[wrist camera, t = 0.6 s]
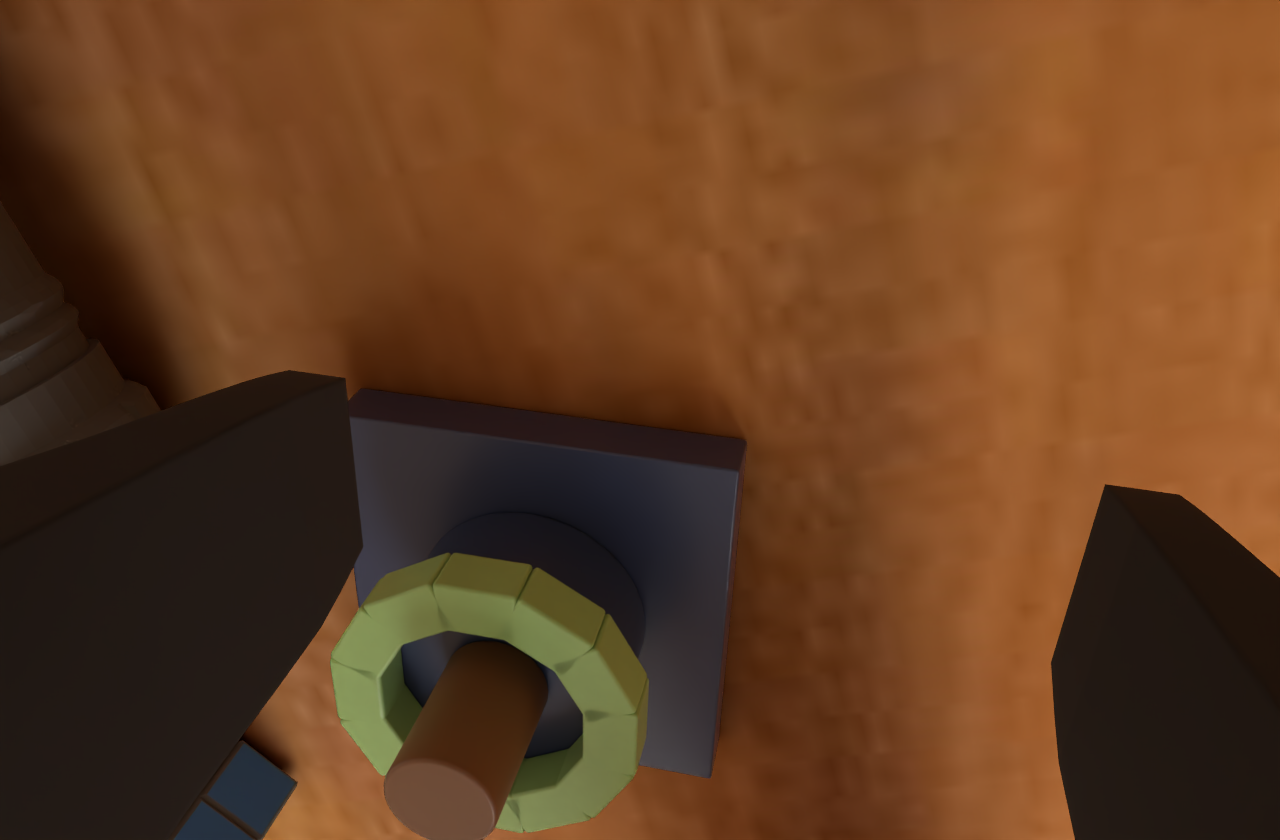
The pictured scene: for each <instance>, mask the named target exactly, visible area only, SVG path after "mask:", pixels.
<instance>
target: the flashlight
mask: <svg viewBox="0 0 1280 840" xmlns="http://www.w3.org/2000/svg"><path fill="white" fill-rule="evenodd" d="M78 317H79V311H78V310H77V309H76V308H75V307H74V306H73V305H71V304H68V303H66V302H63V285H62V284H61V283H60V282H59V281H58V280H57V279H56V278H55V277H53V276H51V275H49V274H48V273H46V272H44V270H43V269H42V267H41V266H40V264H39V262H38V261H37V259H36V258H35V256H34V255H33V253H32V251H31V250H30V248H29V247H28V245H27V243H26V242H25V240H24V239H23V237H22V235H21V234H20V232H19V231H18V229H17V227H16V226H15V224H14V223H13V221H12V219H11V218H10V216H9V215H8V213H7V211H6V210H5V208H4V207H3V205H2V203H1V202H0V466H3V465H6V464H9V463H12V462H15V461H18V460H21V459H24V458H27V457H30V456H33V455H36V454H39V453H42V452H45V451H48V450H51V449H54V448H57V447H60V446H63V445H66V444H69V443H72V442H75V441H78V440H81V439H84V438H87V437H90V436H93V435H96V434H98V433H101V432H104V431H107V430H109V429H112V428H115V427H118V426H120V425H123V424H126V423H129V422H131V421H134V420H137V419H140V418H143V417H145V416H148V415H151V414H154V413H156V412H159V411H161V410H160V408H159V406H158V405H157V403H156V401H155V400H154V398H153V396H152V395H151V393H150V391H149V390H148V388H147V387H146V386H143V385H141V384H140V383H137V382H134V381H130V380H124V379H123V378H122V377H121V375H120V373H119V372H118V370H117V369H116V367H115V365H114V364H113V362H112V361H111V359H110V357H109V356H108V354H107V352H106V351H105V349H104V348H103V346H102V344H101V343H100V341H99V340H98V339H95V338H89V339H86V338H85V336H84V335H83V333H82V332H81V330H80V328H79V327H78Z"/></svg>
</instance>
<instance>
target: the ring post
mask: <svg viewBox="0 0 1280 840" xmlns="http://www.w3.org/2000/svg"><path fill="white" fill-rule="evenodd" d="M348 408H349V417H350V427H351V436H352V445H353V455H354V464H355V473H356V482H357V492H358V501H359V510H360V519H361V529H362V538H363V549H362V551H361V553H360V555H359V556H358V558H357V560H356V562H355V564H354V573H355V581H356V589H357V597H358V605H359V608H360V607H361V605H362V604H363V602H364V601H365V600H366V598H367V597H368V595H369V594H370V593H371V591H372V590H373V588H374V587H375V585H376V584H377V583H378V581H379V580H380V579H381V578H383V577H384V576H385V575H386V574H388V573H390V572H393V571H396V570H399V569H402V568H405V567H408V566H411V565H413V564H416V563H419V562H422V561H425V560H428V559H431V558H434V557H437V556H439V555H442V554H445V553H450V554H451V555H452V554H453V553H462V554H469V555H475V556H481V557H487V558H494V559H500V560H506V561H512V562H519V563H525V564H530V565H532V569H535V568H540V569H542V570H543V571H545V572H546V573H548V574H550V575H551V576H553V577H554V578H556V579H557V580H559V581H560V582H562V583H564V584H565V585H567V586H568V587H570V588H571V589H573V590H575V591H576V592H578V593H579V594H581V595H582V596H584V597H586V598H587V599H589V600H590V601H592V602H593V603H595V604H597V605H598V606H600V607H601V608H603V609H604V610H605V615H606V614H609V615H611V617H612V618H613V620H614V622H615V623H616V625H617V627H618V628H619V630H620V631H621V633H622V635H623V636H624V638H625V639H626V641H627V643H628V644H629V646H630V647H631V649H632V651H633V652H634V654H635V656H636V657H637V659H638V660H639V662H640V664H641V665H642V667H643V668H644V670H645V672H646V674H647V678H648V679H649V692H648V712H647V733H646V740H645V743H644V747H643V750H642V754H641V758H640V761H639V765H641V766H646V767H651V768H657V769H662V770H667V771H672V772H678V773H683V774H688V775H693V776H699V777H704V778H711V776H712V771H713V766H714V761H715V756H716V751H717V746H718V741H719V732H720V721H721V711H722V700H723V690H724V679H725V669H726V659H727V648H728V638H729V627H730V617H731V606H732V596H733V585H734V575H735V564H736V554H737V544H738V533H739V523H740V512H741V502H742V491H743V481H744V470H745V460H746V450H747V441H746V440H742V439H735V438H728V437H720V436H713V435H705V434H698V433H690V432H683V431H675V430H668V429H660V428H653V427H645V426H638V425H631V424H623V423H616V422H608V421H601V420H593V419H586V418H578V417H571V416H563V415H556V414H549V413H541V412H534V411H526V410H519V409H511V408H504V407H496V406H489V405H481V404H474V403H466V402H459V401H452V400H444V399H437V398H429V397H422V396H414V395H407V394H399V393H392V392H384V391H377V390H370V389H360V390H359V391H358V392H357V393H356V394H355V395H354V396H353V397H352V398H351V399H350V400H349V401H348ZM401 654H402V664H403V673H404V683H405V685H406V686H407V687H408V689H409V690H410V692H411V693H412V694H413V696H414V697H415V698H416V700H417V701H418V703H419V704H420V705H421V707H422V708H423V709H422V711H421V713H420V714H419V716H418V718H417V720H416V722H415V723H414V725H413V727H412V729H411V731H410V732H409V734H408V736H407V738H406V740H405V742H404V743H403V745H402V747H401V749H400V751H399V752H398V754H397V756H396V758H395V760H394V762H393V763H392V765H391V767H390V769H389V771H388V772H387V774H386V777H385V781H384V795H385V799H386V801H387V804H388V806H389V808H390V809H391V811H392V812H393V814H394V815H395V816H396V817H397V819H398V820H399V821H400V822H402V823H403V824H404V825H405V826H406V827H407V828H409V829H410V830H412V831H413V832H415V833H416V834H418V835H420V836H422V837H424V838H426V839H429V840H483V839H484V838H486V837H487V836H488V835H489V834H490V833H491V832H492V831H493V830H494V828H495V826H496V824H497V822H498V820H499V817H500V815H501V812H502V810H503V807H504V805H505V802H506V800H507V798H508V795H509V793H510V790H511V788H512V785H513V783H514V781H515V778H516V776H517V773H518V771H519V768H520V766H521V763H522V761H523V759H524V758H532V757H536V756H540V755H544V754H548V753H552V752H556V751H561V750H565V749H569V748H570V747H571V746H572V745H573V744H574V743H575V742H576V740H577V739H578V738H579V737H580V736H581V735H582V734H583V714H582V713H581V711H580V709H579V708H578V706H577V705H576V703H575V702H574V700H573V699H572V697H571V696H570V694H569V693H568V691H567V690H566V688H565V687H564V685H563V684H562V682H561V681H560V679H559V678H558V676H557V675H556V673H555V672H554V671H553V670H551V669H550V668H548V667H546V666H545V665H543V664H542V663H540V662H538V661H537V660H535V659H534V658H532V657H530V656H529V655H527V654H526V653H524V652H522V651H521V650H519V649H518V648H516V647H515V646H513V645H511V644H510V643H508V642H507V641H505V640H500V639H495V638H489V637H483V636H477V635H472V634H466V633H460V632H454V631H445V632H442V633H439V634H436V635H432V636H429V637H426V638H423V639H420V640H416V641H413V642H410V643H407V644H404V645H403V646H402V647H401Z"/></svg>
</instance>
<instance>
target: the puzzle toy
mask: <svg viewBox="0 0 1280 840" xmlns="http://www.w3.org/2000/svg"><path fill="white" fill-rule="evenodd" d="M297 783H298V782H296V781H295V780H294V779H292V778H291V777H290V776H288V775H287V774H286V773H285V772H283V771H282V770H281V769H279V768H278V767H277V766H275V765H274V764H273V763H272V762H270V761H269V760H268V759H266V758H265V757H264V756H262V755H261V754H260V753H259V752H257V751H256V750H255V749H253V748H252V747H251V746H249V745H248V744H247V743H246V742H244V741H240V742H237V743H236V745H235V746H234V747H233V749H232V750H231V751H230V753H229V754H228V756H227V757H226V758H225V760H224V761H223V762H222V764H221V765H220V766H219V768H218V769H217V770H216V772H215V773H214V774H213V776H212V777H211V779H210V780H209V781H208V783H207V784H206V785H205V787H204V788H203V789H202V791H201V792H200V793H199V795H198V796H197V797H196V799H195V800H194V802H193V803H192V804H191V806H190V807H189V809H188V810H187V812H186V813H185V814H184V816H183V817H182V819H181V820H180V822H179V823H178V825H177V826H176V828H175V829H174V831H173V832H172V834H171V835H170V837H169V838H168V840H262V839H263V838H264V836H265V834H266V833H267V831H268V830H269V828H270V827H271V825H272V824H273V822H274V820H275V819H276V817H277V816H278V814H279V813H280V811H281V809H282V808H283V806H284V805H285V803H286V802H287V800H288V799H289V797H290V795H291V794H292V792H293V791H294V789H295V788H296V786H297Z"/></svg>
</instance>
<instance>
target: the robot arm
mask: <svg viewBox="0 0 1280 840" xmlns="http://www.w3.org/2000/svg"><path fill="white" fill-rule="evenodd" d="M362 549H363V538H362V529H361V519H360V510H359V501H358V492H357V482H356V473H355V464H354V455H353V445H352V436H351V427H350V417H349V408H348V399H347V390H346V380H345V378H341V377H334V376H327V375H320V374H312V373H305V372H298V371H291V370H288V371H284V372H279V373H275V374H270V375H266V376H263V377H259V378H255V379H252V380H249V381H246V382H242V383H239V384H236V385H233V386H230V387H227V388H224V389H221V390H218V391H215V392H212V393H210V394H207V395H204V396H201V397H198V398H195V399H193V400H190V401H187V402H184V403H181V404H179V405H176V406H173V407H170V408H167V409H165V410H162V411H159V412H156V413H154V414H151V415H148V416H145V417H143V418H140V419H137V420H134V421H131V422H129V423H126V424H123V425H120V426H118V427H115V428H112V429H109V430H107V431H104V432H101V433H98V434H96V435H93V436H90V437H87V438H84V439H81V440H78V441H75V442H72V443H69V444H66V445H63V446H60V447H57V448H54V449H51V450H48V451H45V452H42V453H39V454H36V455H33V456H30V457H27V458H24V459H21V460H18V461H15V462H12V463H9V464H6V465H3V466H0V840H168V838H169V837H170V835H171V834H172V832H173V831H174V829H175V828H176V826H177V825H178V823H179V822H180V820H181V819H182V817H183V816H184V814H185V813H186V812H187V810H188V809H189V807H190V806H191V804H192V803H193V802H194V800H195V799H196V797H197V796H198V795H199V793H200V792H201V791H202V789H203V788H204V787H205V785H206V784H207V783H208V781H209V780H210V779H211V777H212V776H213V774H214V773H215V772H216V770H217V769H218V768H219V766H220V765H221V764H222V762H223V761H224V760H225V758H226V757H227V756H228V754H229V753H230V751H231V750H232V749H233V747H234V746H235V745H236V743H237V742H238V741H239V739H240V738H241V737H242V735H243V734H244V733H245V731H246V730H247V728H248V727H249V726H250V724H251V723H252V722H253V720H254V719H255V718H256V716H257V715H258V714H259V712H260V711H261V710H262V708H263V707H264V706H265V704H266V703H267V701H268V700H269V699H270V697H271V696H272V695H273V693H274V692H275V691H276V689H277V688H278V687H279V685H280V684H281V682H282V681H283V680H284V678H285V677H286V675H287V674H288V673H289V671H290V670H291V669H292V667H293V666H294V664H295V663H296V662H297V660H298V659H299V657H300V656H301V655H302V653H303V652H304V651H305V649H306V648H307V646H308V645H309V644H310V642H311V641H312V639H313V638H314V636H315V635H316V634H317V632H318V631H319V629H320V628H321V626H322V625H323V623H324V621H325V619H326V617H327V616H328V614H329V612H330V610H331V608H332V606H333V605H334V603H335V601H336V599H337V597H338V596H339V594H340V592H341V590H342V588H343V586H344V584H345V582H346V580H347V578H348V576H349V574H350V572H351V570H352V568H353V566H354V564H355V562H356V560H357V558H358V556H359V555H360V553H361V551H362ZM1051 668H1052V683H1053V699H1054V714H1055V726H1056V737H1057V748H1058V759H1059V766H1060V771H1061V775H1062V780H1063V785H1064V790H1065V795H1066V799H1067V804H1068V809H1069V813H1070V818H1071V822H1072V827H1073V832H1074V836H1075V840H1280V578H1279V577H1278V576H1277V575H1276V574H1275V573H1274V572H1273V571H1271V570H1270V569H1269V568H1268V567H1267V566H1266V565H1264V564H1263V563H1262V562H1261V561H1260V560H1259V559H1258V558H1256V557H1255V556H1254V555H1253V554H1252V553H1251V552H1249V551H1248V550H1247V549H1246V548H1245V547H1244V546H1243V545H1241V544H1240V543H1239V542H1238V541H1237V540H1236V539H1234V538H1233V537H1232V536H1231V535H1230V534H1229V533H1227V532H1226V531H1225V530H1224V529H1223V528H1221V527H1220V526H1219V525H1218V524H1217V523H1216V522H1214V521H1213V520H1212V519H1211V518H1209V517H1208V516H1207V515H1206V514H1205V513H1203V512H1202V511H1201V510H1199V509H1198V508H1197V507H1196V506H1194V505H1193V504H1191V503H1190V502H1189V501H1187V500H1186V499H1184V498H1183V497H1182V496H1180V495H1177V494H1170V493H1163V492H1156V491H1149V490H1142V489H1134V488H1127V487H1120V486H1113V485H1106V484H1105V487H1104V490H1103V493H1102V497H1101V500H1100V503H1099V507H1098V510H1097V513H1096V516H1095V520H1094V523H1093V526H1092V530H1091V533H1090V536H1089V540H1088V543H1087V546H1086V549H1085V553H1084V556H1083V559H1082V563H1081V566H1080V569H1079V572H1078V576H1077V579H1076V582H1075V586H1074V589H1073V592H1072V595H1071V599H1070V602H1069V605H1068V609H1067V612H1066V615H1065V619H1064V622H1063V625H1062V628H1061V632H1060V635H1059V638H1058V642H1057V645H1056V648H1055V651H1054V655H1053V658H1052V661H1051Z"/></svg>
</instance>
